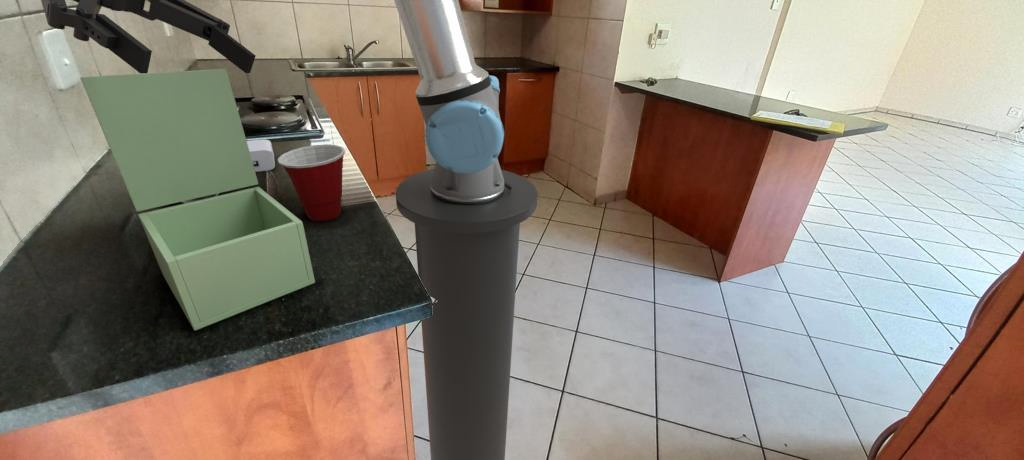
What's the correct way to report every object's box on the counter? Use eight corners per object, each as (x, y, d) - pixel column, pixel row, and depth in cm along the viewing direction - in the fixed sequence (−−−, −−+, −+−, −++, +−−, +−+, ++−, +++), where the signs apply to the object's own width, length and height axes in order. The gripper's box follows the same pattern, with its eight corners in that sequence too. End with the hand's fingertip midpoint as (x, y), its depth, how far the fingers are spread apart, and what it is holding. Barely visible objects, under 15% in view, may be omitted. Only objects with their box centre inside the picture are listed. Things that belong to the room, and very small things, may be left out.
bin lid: (226, 69, 57) (224, 68, 58) (80, 77, 48) (80, 77, 48) (258, 184, 64) (256, 183, 65) (137, 211, 55) (135, 210, 55)
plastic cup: (293, 205, 82) (280, 144, 76) (353, 199, 85) (344, 141, 79) (287, 231, 73) (272, 164, 67) (354, 224, 76) (345, 160, 70)
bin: (315, 282, 60) (302, 221, 56) (194, 331, 51) (166, 262, 46) (272, 241, 69) (258, 186, 65) (163, 276, 60) (137, 214, 55)
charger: (273, 150, 109) (275, 169, 97) (231, 154, 105) (228, 174, 93) (269, 132, 106) (271, 149, 95) (226, 135, 102) (222, 154, 91)
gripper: (164, 2, 65) (274, 86, 64) (-89, -35, 42) (79, 94, 42) (174, -47, 61) (290, 42, 61) (-94, -116, 39) (88, 24, 39)
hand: (204, 63), depth 52 cm, fingers open, 13 cm apart
